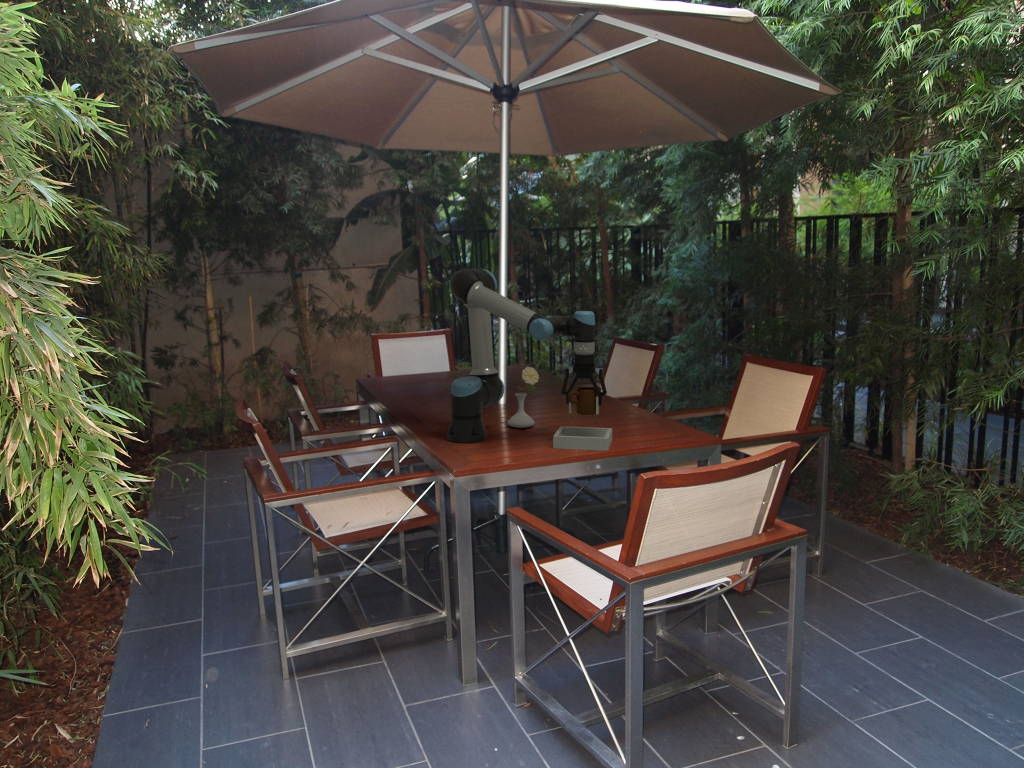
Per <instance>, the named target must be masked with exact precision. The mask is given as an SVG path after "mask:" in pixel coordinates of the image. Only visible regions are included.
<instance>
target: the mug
mask: <svg viewBox="0 0 1024 768" xmlns="http://www.w3.org/2000/svg"><path fill="white" fill-rule="evenodd" d="M573 395H574V396H576V399H575V398H574V399H573ZM597 396H598V394H597V392H596V390H595V388H594V387H592V386H590V387H589V386H584V387H582V386H581V387H577V388H576V390H574V389H572V391H570V392H569V394H568V400H569V402H570V403H572V405H576V414H578V415H581V416H594V415H597V414H596V397H597Z"/></svg>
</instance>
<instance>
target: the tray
mask: <svg viewBox="0 0 1024 768" xmlns="http://www.w3.org/2000/svg"><path fill="white" fill-rule="evenodd" d="M552 437H553V438H552V447H553V448H552V449H560V450H584V451H586V450H587V451H600V452H601V451H605V452H606V451H607V452H608V451H609V449H610V446H611V445H612V440H613V428H612V427H610V428H609V427H608V428H607V427H589V426H588V427H587V426H567V425H566V426H563V425H560V426H559V428H558V429H557V430H556V431H555V433H554V435H553V436H552Z"/></svg>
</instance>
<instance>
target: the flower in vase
mask: <svg viewBox="0 0 1024 768" xmlns="http://www.w3.org/2000/svg"><path fill="white" fill-rule="evenodd" d="M521 372H522V373H521V376H522V377H521V378H522V380H523V381H524V383H526V385H525V386H524V388H522V387H519V386H517V385H516V386H515V388H516V390H519V391H522V392H517V393H514V395H515V396H516V399H517V402H518V403H517V404H518V407H517V412H516V413H515V414H514V415H513V416H511V417H510V418H509V419H508V420H507V425H508V426H509V427H512V428H517V429H519V428H520V429H524V428H530V427H532V426H534V425H535V424H536V422H535V420H534V419H533V417H531V416H529V414H527V412H525V407H524V406H525V399H526V397H527V395H528V393H526V392H525V390H526V389H527V390H528V391H530V392H531V391H534V390H536V387H535V384H536V383H539V379H540V377H539V376H540V375H539V373H538V371H537V370H536V369H535V368H533V367H532V366H530V367H529V366H526V367H525V368H524V369H522V371H521Z"/></svg>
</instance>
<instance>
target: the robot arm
mask: <svg viewBox="0 0 1024 768" xmlns="http://www.w3.org/2000/svg"><path fill="white" fill-rule="evenodd" d="M449 289H450V291H451V294H452V295H453V296H454V297H455V298H456V299H458V300H460V301H462V303H463V306H465V307H466V309H467V312H468V325H469V326H468V327H469V338H470V339H469V340H470V351H471V352H470V353H471V355H470V356H471V363H472V364H471V365H472V369H471V370H470V371H469V373H468V376H461V377H458V378H456V379H454V380H453V381H451V388H450V399H451V401H450V403H451V420H450V423H449V427H448V430H447V433H446V434H447V435H446V439H447V440H448V441H450V442H455V443H463V444H464V443H465V444H466V443H470V444H471V443H479V442H483V441H485V440H487V431H486V427H485V424H484V421H483V414H482V413H483V409H484V408H486V407H490V406H494V405H495V404H496V403H499V402H500V401H501V399H502V398H503V397H504V393H505V383H504V382H503V380H502V379H501V377H500V376H499V370H497V369H496V368H495V365H494V364H495V362H494V349H493V336H492V335H493V334H492V322H491V321H492V320H491V319H492V318H491V314H493V315H494V316H496V317H499V318H500V319H503V320H505V321H506V322H508V323H510V324H511V325H514V326H515V327H518V328H520V329H522V330H524V331H526V332H527V333H529V334H530V336H531V337H532V338H533V339H534V340H537V341H545V340H549V339H553V338H559V337H573V338H574V339H573V340H574V341H573V343H574V344H573V352H574V353H575V354H573V367H566V368H565V376H564V380H563V385H562V388H561V391H560V392H561V394H562V395H565V396H566V397H565V403H566V405H568V414H572V413H573V404H572V403H570V402H569V400H568V394H569V392H570V391H573V390H574V388H575V386H576V385H577V382H578V380H579V379H581V380H582V379H586V380H587V379H589V381H590V382H591V384H592V386H593V388H595V390H596V392H597V397H596V414H595V415H599V414H600V412H599V411H600V406H602V404H603V396H606V395H607V394H608V390H607V387H606V382H605V379H604V374H603V373H604V369H603V367H600V368H597V367H596V365H595V358H596V357H595V356H596V355H595V354H594V353H595V352H596V351H595V348H596V347H595V345H596V341H595V337H596V335H595V333H596V331H595V330H596V322H595V321H596V320H595V319H596V317H595V313H594V312H593V311H591V310H577V311H575V312H574V314H573V316H570V315H569V316H568V315H547V316H545V315H542V314H540V313H538V312H535V311H534V310H532V309H530V308H529V307H525V305H522V304H520V303H517V301H516V302H515V301H514V300H512V299H510V298H508V297H507V296H504V295H502V294H500V293H498V292H497V290H498V282H497V279H496V277H495V275H494V274H493V273H492V272H491V271H490V270H488V269H484V268H471V269H470V268H469V269H465V268H464V269H463V268H462V269H459V270H457V271H455V273H454V274H453V275H452V276H451V278H450V281H449ZM572 372H573V373H574V374H575V377H574V379H573V380H572V382H571V384H570V386H569V387H568V383H569V379H570V375H571V374H572ZM594 373H596V374H597V375H598V379H599V382H600V386H601V389H600V387H599V385H598V383H597V382H596V380H595V377H594ZM567 387H568V389H567ZM601 390H602V391H601Z"/></svg>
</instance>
